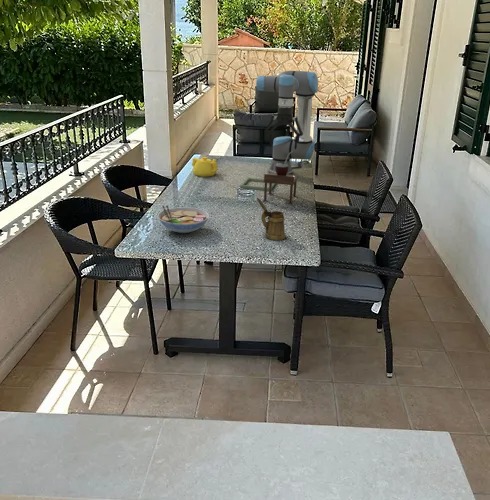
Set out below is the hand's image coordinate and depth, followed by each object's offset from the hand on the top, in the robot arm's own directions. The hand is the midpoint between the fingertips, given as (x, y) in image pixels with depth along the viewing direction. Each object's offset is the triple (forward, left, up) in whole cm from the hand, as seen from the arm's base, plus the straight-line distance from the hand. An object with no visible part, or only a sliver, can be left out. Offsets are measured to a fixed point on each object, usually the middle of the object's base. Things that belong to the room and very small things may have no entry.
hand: (283, 147), depth 270 cm
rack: (+1, 0, -28) cm, 28 cm away
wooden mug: (+59, +6, -28) cm, 66 cm away
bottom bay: (-21, -17, -28) cm, 39 cm away
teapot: (-35, -54, -28) cm, 70 cm away
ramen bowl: (+64, -33, -28) cm, 77 cm away
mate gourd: (+1, +1, -16) cm, 16 cm away
